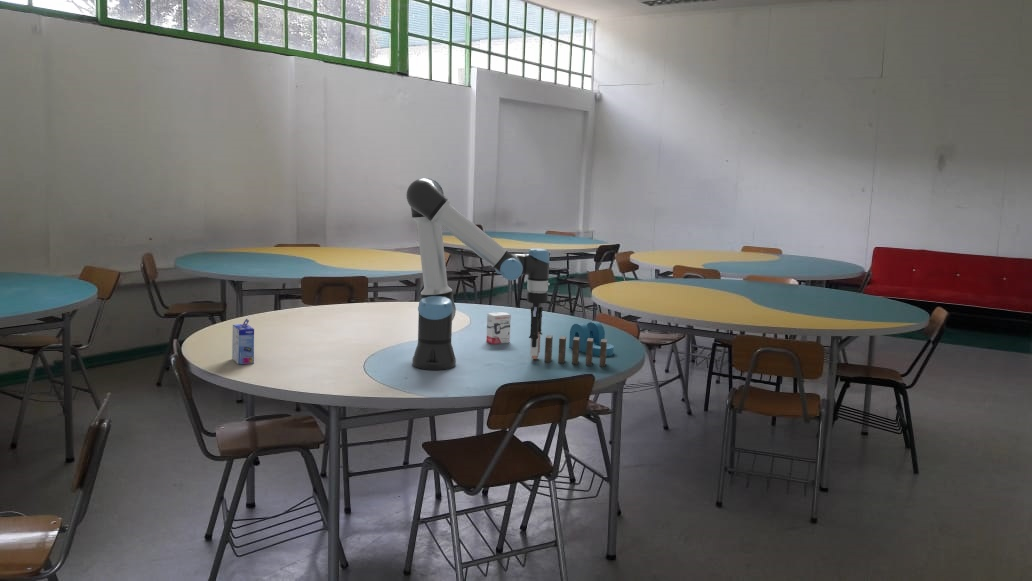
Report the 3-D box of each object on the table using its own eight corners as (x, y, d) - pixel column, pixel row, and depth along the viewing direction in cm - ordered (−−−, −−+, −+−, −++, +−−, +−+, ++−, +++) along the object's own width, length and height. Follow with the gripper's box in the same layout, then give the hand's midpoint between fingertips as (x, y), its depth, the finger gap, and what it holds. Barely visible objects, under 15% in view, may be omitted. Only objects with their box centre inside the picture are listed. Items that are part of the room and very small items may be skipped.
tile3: (564, 360, 279) (566, 336, 277) (563, 363, 274) (564, 339, 272) (559, 359, 279) (560, 335, 278) (558, 362, 274) (559, 338, 273)
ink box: (492, 344, 300) (493, 315, 298) (485, 341, 304) (486, 313, 302) (510, 342, 304) (511, 313, 303) (503, 340, 308) (504, 311, 307)
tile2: (551, 359, 279) (552, 335, 278) (549, 362, 274) (551, 338, 273) (546, 358, 280) (547, 335, 278) (544, 361, 275) (545, 337, 273)
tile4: (578, 361, 278) (579, 337, 276) (577, 364, 273) (578, 340, 272) (573, 360, 278) (574, 336, 277) (571, 364, 273) (573, 339, 272)
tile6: (605, 363, 276) (607, 339, 275) (605, 366, 271) (606, 342, 270) (600, 362, 277) (601, 338, 275) (599, 366, 272) (600, 341, 270)
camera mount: (569, 347, 300) (570, 321, 298) (589, 345, 306) (590, 319, 304) (598, 357, 285) (599, 330, 284) (619, 354, 291) (620, 328, 290)
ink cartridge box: (255, 363, 256) (254, 321, 254) (238, 365, 253) (237, 323, 251) (248, 357, 264) (247, 316, 262) (231, 358, 261) (231, 317, 259)
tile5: (592, 362, 277) (593, 338, 276) (591, 365, 272) (592, 341, 271) (586, 361, 277) (587, 337, 276) (585, 365, 272) (586, 340, 271)
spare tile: (538, 355, 280) (539, 332, 279) (536, 358, 275) (537, 334, 274) (533, 355, 280) (534, 331, 279) (531, 358, 275) (532, 334, 274)
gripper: (544, 295, 265) (541, 360, 268) (550, 288, 282) (548, 349, 286) (523, 294, 266) (521, 358, 269) (530, 287, 283) (528, 347, 287)
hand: (534, 353), depth 277 cm, fingers closed on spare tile, 5 cm apart
